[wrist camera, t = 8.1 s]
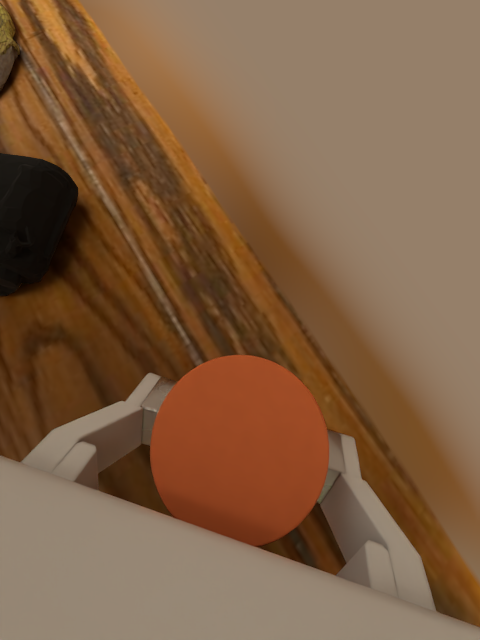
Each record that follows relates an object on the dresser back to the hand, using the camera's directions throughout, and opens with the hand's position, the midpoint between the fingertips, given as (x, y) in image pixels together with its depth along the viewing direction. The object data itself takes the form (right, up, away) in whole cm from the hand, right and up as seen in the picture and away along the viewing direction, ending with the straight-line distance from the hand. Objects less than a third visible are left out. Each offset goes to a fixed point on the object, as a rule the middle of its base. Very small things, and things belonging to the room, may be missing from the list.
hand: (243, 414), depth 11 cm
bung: (0, -2, +5) cm, 5 cm away
